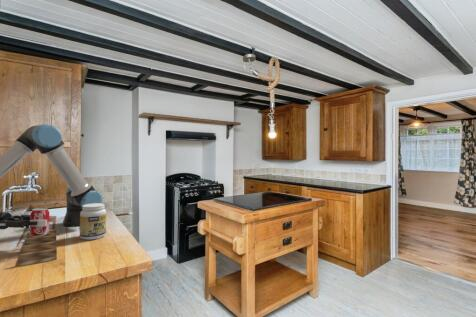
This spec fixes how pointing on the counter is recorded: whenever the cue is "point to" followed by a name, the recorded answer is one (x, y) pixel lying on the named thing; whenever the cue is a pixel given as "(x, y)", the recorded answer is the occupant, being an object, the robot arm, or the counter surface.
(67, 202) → the robot arm
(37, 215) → the soda can
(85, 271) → the counter surface
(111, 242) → the counter surface
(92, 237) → the supplement tub
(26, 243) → the rack
